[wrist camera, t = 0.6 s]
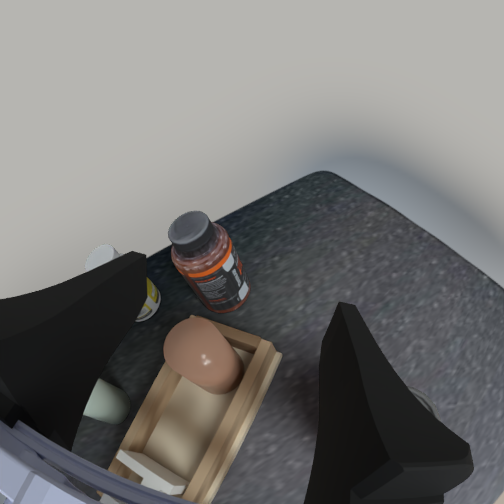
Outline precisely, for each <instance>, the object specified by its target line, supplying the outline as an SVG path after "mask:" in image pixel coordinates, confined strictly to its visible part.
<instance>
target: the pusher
mask: <svg viewBox="0 0 504 504" xmlns="http://www.w3.org/2000/svg"><path fill="white" fill-rule="evenodd" d="M116 458H117V459H118V460H120V461H121V462H122V463H123V464H125V465H126V466H127V467H129V468H130V469H131V470H133V471H134V472H136V473H137V474H138V475H140V476H141V477H143V480H142V482H141V485H143V486H146V487H149V488H151V489H154V490H157V491H160V492H163V493H167V494H168V495H175V494H184V493H185V491H186V489H187V488H188V486H189V484H190V482H188V481H186V480H185V479H183V478H181V477H180V476H178V475H176V474H174V473H173V472H171V471H170V470H168V469H166V468H165V467H163V466H162V465H160V464H158V463H157V462H155V461H154V460H152V459H151V458H149V457H148V456H146V455H145V454H143V453H137V452H132V451H126V450H121V449H120V450H119V452H118V454H117V456H116ZM99 502H100V503H102V504H127V503H125V502H122V501H120V500H118V499H116V498H113V497H111V496H109V495H107V494H105V493H104V494H103V496H102V498H101V500H100V501H99Z"/></svg>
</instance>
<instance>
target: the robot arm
mask: <svg viewBox="0 0 504 504" xmlns="http://www.w3.org/2000/svg"><path fill="white" fill-rule="evenodd" d="M147 298H148V295H147V266H146V255H145V254H141V253H137V252H134V251H131V252H129V253H127V254H124V255H122V256H119V257H117V258H115V259H113V260H111V261H109V262H107V263H105V264H103V265H101V266H98V267H96V268H94V269H92V270H90V271H88V272H86V273H83V274H81V275H79V276H76V277H74V278H72V279H70V280H67V281H65V282H63V283H60V284H57V285H54V286H51V287H48V288H45V289H42V290H39V291H36V292H32V293H28V294H24V295H20V296H16V297H11V298H6V299H0V492H1V493H2V494H3V495H4V496H6V499H5V501H4V503H3V504H102V503H100V502H98V501H96V500H94V499H92V498H90V497H88V496H86V494H85V493H84V492H82V491H81V490H79V489H78V488H77V487H75V486H74V485H73V484H72V483H71V482H70V481H69V480H68V479H67V478H66V476H65V475H63V474H62V473H60V472H59V471H57V470H56V469H54V468H53V467H51V466H50V465H49V464H51V465H52V466H54V467H56V468H57V469H59V470H61V471H62V472H64V473H66V474H68V475H69V476H71V477H73V478H75V479H77V480H79V481H80V482H82V483H84V484H86V485H88V486H90V487H92V488H94V489H96V490H98V491H100V492H102V493H105V494H107V495H109V496H111V497H113V498H116V499H118V500H120V501H122V502H125V503H127V504H198V503H195V502H191V501H188V500H184V499H181V498H178V497H175V496H171V495H168V494H165V493H163V492H160V491H157V490H154V489H151V488H149V487H146V486H143V485H141V484H138V483H136V482H133V481H131V480H128V479H126V478H123V477H121V476H119V475H116V474H114V473H112V472H110V471H107V470H105V469H103V468H101V467H99V466H97V465H95V464H93V463H91V462H89V461H87V460H85V459H83V458H81V457H79V456H77V455H75V454H73V453H72V452H71V450H72V446H73V442H74V439H75V436H76V433H77V430H78V427H79V424H80V421H81V418H82V416H83V413H84V410H85V408H86V405H87V403H88V401H89V398H90V396H91V394H92V391H93V389H94V387H95V385H96V383H97V381H98V379H99V377H100V375H101V373H102V371H103V369H104V367H105V365H106V363H107V362H108V360H109V358H110V357H111V356H112V354H113V353H114V351H115V350H116V348H117V347H118V345H119V344H120V342H121V341H122V339H123V338H124V337H125V335H126V334H127V332H128V331H129V329H130V328H131V326H132V325H133V323H134V322H135V321H136V319H137V317H138V315H139V314H140V312H141V310H142V308H143V306H144V304H145V302H146V300H147ZM43 460H44V461H46V462H47V463H49V464H47V463H46V462H44V461H43ZM473 470H474V466H473V460H472V455H471V450H470V446H469V444H468V443H467V442H466V441H464V440H463V439H462V438H460V437H459V436H458V435H456V434H455V433H454V432H452V431H451V430H450V429H448V428H447V427H446V426H445V425H444V424H443V423H441V422H440V421H439V420H438V419H437V418H436V417H435V416H434V415H433V414H432V413H431V412H430V411H429V410H428V409H427V408H426V407H425V406H424V405H423V404H422V403H421V402H420V401H419V400H418V399H417V398H416V397H415V396H414V395H413V393H412V392H411V391H410V390H409V389H408V387H407V386H406V385H405V384H404V382H403V381H402V380H401V379H400V377H399V376H398V375H397V373H396V372H395V371H394V369H393V368H392V366H391V365H390V363H389V362H388V360H387V359H386V357H385V356H384V354H383V353H382V351H381V349H380V348H379V346H378V345H377V343H376V341H375V340H374V338H373V336H372V334H371V333H370V331H369V329H368V327H367V326H366V324H365V322H364V320H363V318H362V317H361V315H360V313H359V311H358V309H357V308H356V306H355V305H353V304H348V303H343V302H339V303H338V305H337V308H336V310H335V312H334V315H333V317H332V320H331V322H330V324H329V327H328V329H327V331H326V334H325V336H324V338H323V340H322V346H321V354H320V363H319V427H318V434H317V441H316V448H315V454H314V460H313V465H312V470H311V475H310V480H309V484H308V489H307V493H306V497H305V501H304V504H443V503H444V495H443V494H444V493H446V492H448V491H449V490H451V489H453V488H454V487H456V486H457V485H459V484H461V483H462V482H463V481H465V480H466V479H467V478H468V477H469V476H470V475H471V474H472V472H473Z"/></svg>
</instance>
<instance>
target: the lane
mask: <svg viewBox="0 0 504 504" xmlns="http://www.w3.org/2000/svg"><path fill="white" fill-rule="evenodd" d="M190 318H203V317H200V316H198V315H197V316H194V315H191V316H190ZM203 319H206V318H203ZM206 320H208V321H210V322H211V323H212V324H213V325H214V326H215V327H216V328H217V329H218V330H219V332H220V333H221V334H222V335H223V336H224V338H225V339H226V340H227V341H228V342H229V344H230V345H231V346H232V347H233V348H234V350H235V351H236V352H237V353H238V354H239V355H240V357H241V358H242V360H243V363H244V376H243V378H242V381H241V382H240V384H239V385H238V386H237V387H236V388H235V389H234V390H232V391H231V392H229V393H226V394H221V395H216V394H211V393H209V392H207V391H205V390H204V389H202V388H200V387H199V386H197V385H196V384H194V383H192V382H191V381H189V380H188V379H186V378H185V377H183V376H182V375H180V374H179V373H177V372H176V371H174V370H173V369H172V368H171V367H170V366H169V365H168V364H167V362H166V361H165V363H164V365H163V367H162V368H161V370H160V372H159V374H158V376H157V378H156V379H155V381H154V383H153V385H152V387H151V389H150V391H149V392H148V394H147V396H146V398H145V400H144V402H143V404H142V405H141V407H140V409H139V411H138V413H137V415H136V417H135V419H134V420H133V422H132V424H131V426H130V428H129V430H128V432H127V434H126V436H125V438H124V439H123V441H122V443H121V445H120V447H119V449H118V451H117V453H116V455H115V457H114V459H113V461H112V463H111V464H110V466H109V468H108V470H107V471H110V472H112V473H114V474H116V475H119V476H121V477H123V478H126V479H128V480H131V481H133V482H136V483H138V484H141V482H142V480H143V477H141V476H140V475H138V474H137V473H136V472H134V471H133V470H131V469H130V468H129V467H127V466H126V465H125V464H123V463H122V462H121V461H120V460H118V459H117V458H116V456H117V454H118V452H119V450H120V449H121V450H126V451H132V452H137V453H143V454H145V455H146V456H148V457H149V458H151V459H152V460H154V461H155V462H157V463H158V464H160V465H162V466H163V467H165V468H166V469H168V470H170V471H171V472H173V473H174V474H176V475H178V476H180V477H181V478H183V479H185V480H186V481H188V482H190V484H189V486H188V488H187V489H186V491H185V493H184V494H175V495H171V496H175V497H178V498H181V499H184V500H188V501H191V502H195V503H198V504H211V502H212V500H213V498H214V496H215V495H216V493H217V491H218V489H219V487H220V485H221V483H222V482H223V480H224V478H225V476H226V474H227V472H228V470H229V468H230V466H231V464H232V462H233V460H234V459H235V457H236V455H237V453H238V451H239V449H240V447H241V445H242V443H243V441H244V439H245V437H246V434H247V432H248V430H249V428H250V426H251V424H252V422H253V420H254V418H255V416H256V414H257V412H258V409H259V407H260V405H261V403H262V401H263V399H264V397H265V394H266V392H267V390H268V388H269V386H270V383H271V381H272V379H273V377H274V375H275V372H276V370H277V368H278V365H279V363H280V361H281V359H282V356H283V355H282V354H281V353H279V352H277V351H276V350H275V348H274V346H273V344H272V342H269V341H266V340H263V339H261V337H259V336H256V335H253V334H249V333H246V332H243V331H240V330H238V329H235V328H232V327H229V326H226V325H223V324H220V323H217V322H214V321H212V320H209V319H206ZM96 493H98V494H99V495H100V496H101V497H102V496H103V494H104V493H102V492H100V491H98V490H97V492H96ZM165 494H167V493H165Z"/></svg>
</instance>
